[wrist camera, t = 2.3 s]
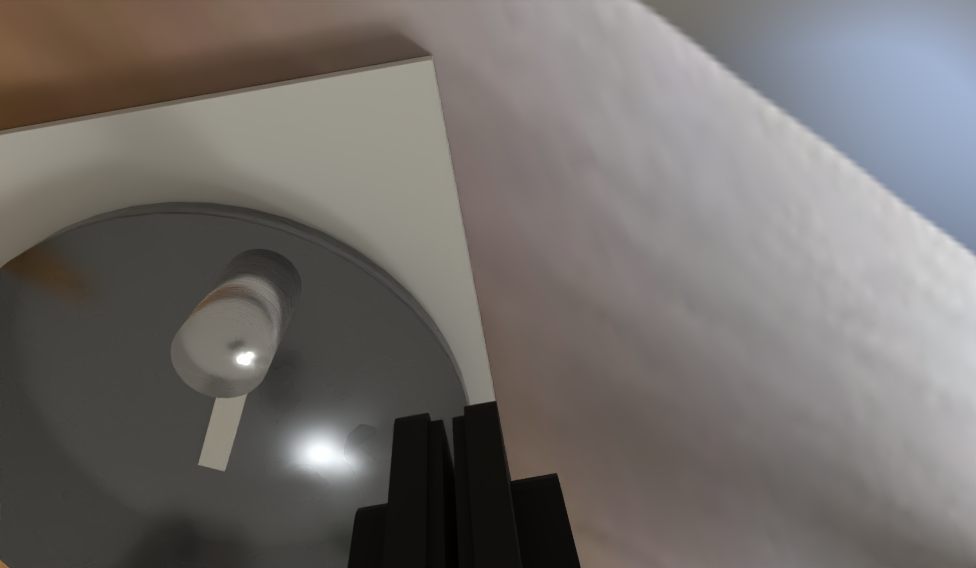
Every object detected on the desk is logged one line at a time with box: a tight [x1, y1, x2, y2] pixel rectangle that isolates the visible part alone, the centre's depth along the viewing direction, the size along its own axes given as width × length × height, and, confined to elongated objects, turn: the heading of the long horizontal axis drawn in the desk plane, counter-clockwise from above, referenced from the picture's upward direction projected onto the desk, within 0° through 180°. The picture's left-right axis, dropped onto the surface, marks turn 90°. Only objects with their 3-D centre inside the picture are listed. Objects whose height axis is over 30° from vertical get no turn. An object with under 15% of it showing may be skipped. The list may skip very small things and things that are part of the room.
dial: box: [0, 202, 470, 568], centre depth 25 cm, size 20×20×6 cm
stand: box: [0, 55, 496, 405], centre depth 27 cm, size 22×24×5 cm
